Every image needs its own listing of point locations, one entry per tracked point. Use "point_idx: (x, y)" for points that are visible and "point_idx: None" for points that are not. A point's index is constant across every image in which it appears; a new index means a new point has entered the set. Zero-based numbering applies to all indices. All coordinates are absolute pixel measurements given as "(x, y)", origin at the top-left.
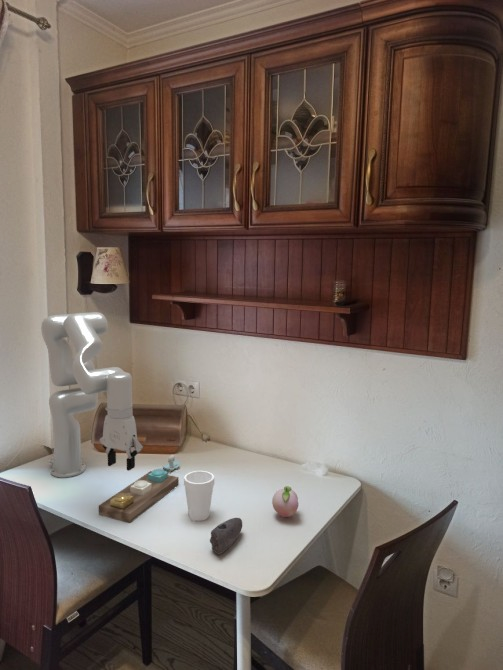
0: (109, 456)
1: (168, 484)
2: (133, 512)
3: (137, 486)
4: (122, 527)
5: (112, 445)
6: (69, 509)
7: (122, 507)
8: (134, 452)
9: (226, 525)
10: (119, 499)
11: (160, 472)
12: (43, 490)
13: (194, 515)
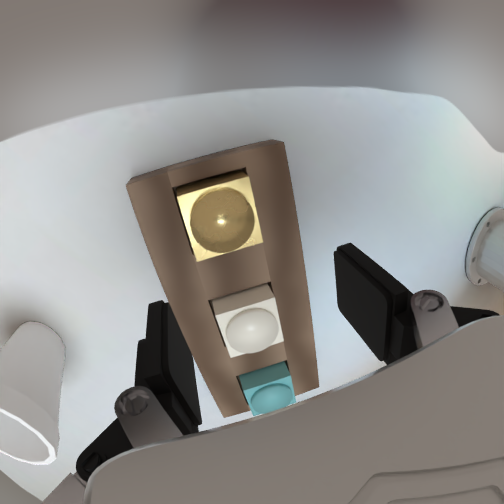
0: (380, 289)
1: (209, 386)
2: (134, 208)
3: (245, 313)
4: (127, 143)
5: (400, 408)
6: (373, 105)
7: (180, 190)
8: (89, 463)
9: None
10: (206, 198)
11: (261, 403)
12: (480, 146)
13: (18, 331)
